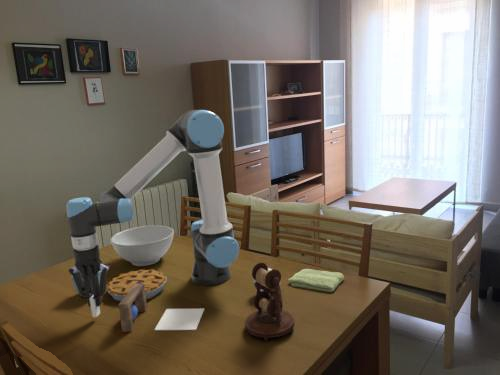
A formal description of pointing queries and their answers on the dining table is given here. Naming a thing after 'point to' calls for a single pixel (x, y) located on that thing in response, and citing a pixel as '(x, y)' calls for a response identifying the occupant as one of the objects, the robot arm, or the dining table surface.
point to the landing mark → (180, 319)
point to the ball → (134, 311)
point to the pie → (126, 281)
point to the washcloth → (316, 280)
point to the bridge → (125, 306)
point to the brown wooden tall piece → (268, 305)
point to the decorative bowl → (143, 244)
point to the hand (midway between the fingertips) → (96, 314)
